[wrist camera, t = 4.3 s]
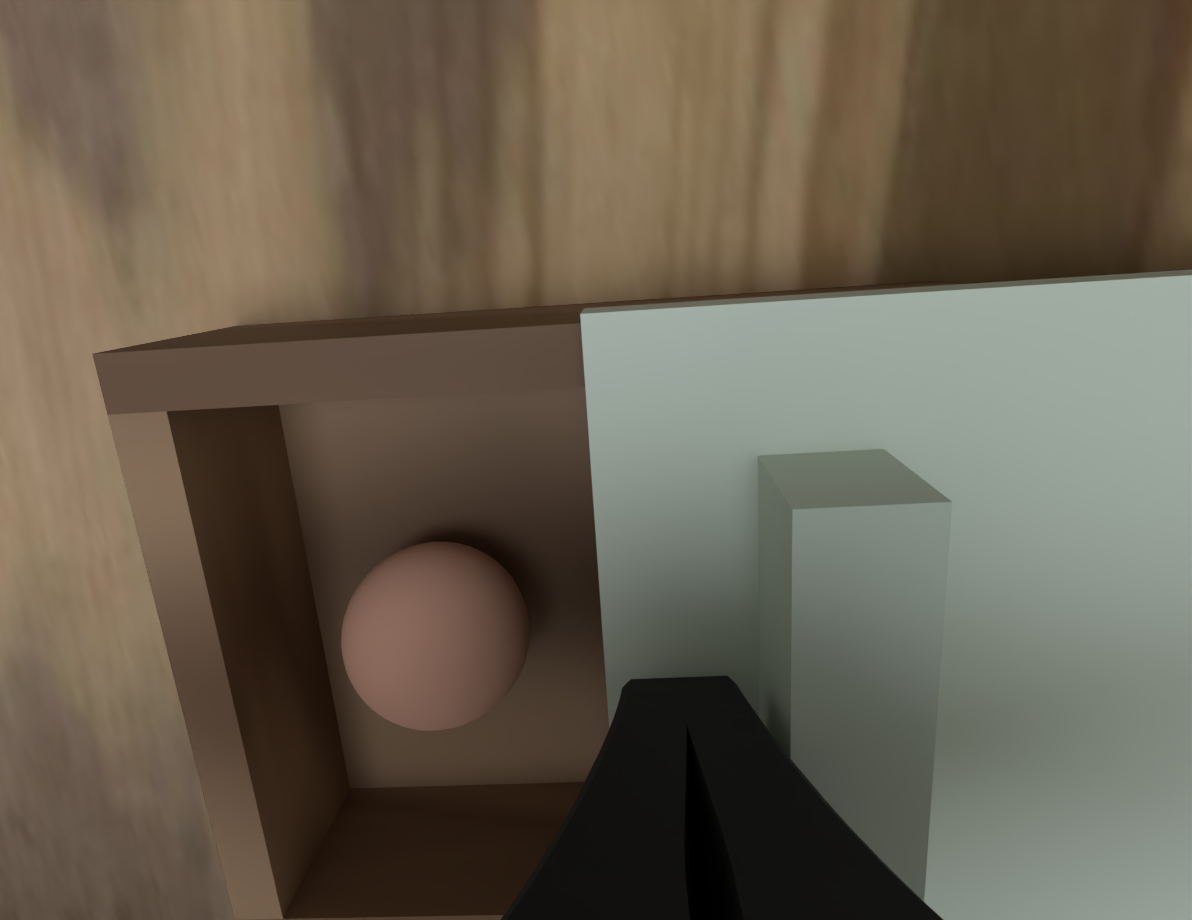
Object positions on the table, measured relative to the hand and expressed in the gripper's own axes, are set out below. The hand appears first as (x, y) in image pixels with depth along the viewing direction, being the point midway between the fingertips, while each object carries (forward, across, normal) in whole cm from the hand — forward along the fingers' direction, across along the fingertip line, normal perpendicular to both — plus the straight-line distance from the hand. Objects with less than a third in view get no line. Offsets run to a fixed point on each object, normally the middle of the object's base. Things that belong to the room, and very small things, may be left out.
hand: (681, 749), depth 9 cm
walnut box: (+5, +1, 0) cm, 5 cm away
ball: (+5, +4, 0) cm, 6 cm away
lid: (+1, -5, 0) cm, 5 cm away
